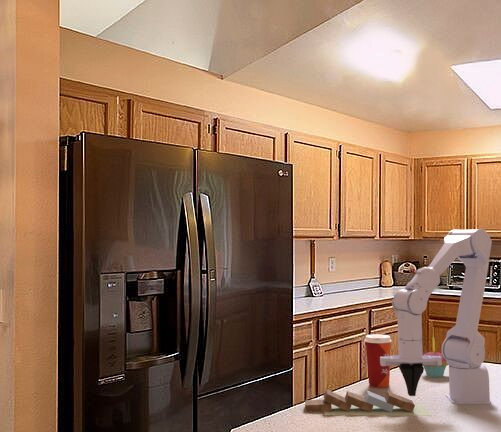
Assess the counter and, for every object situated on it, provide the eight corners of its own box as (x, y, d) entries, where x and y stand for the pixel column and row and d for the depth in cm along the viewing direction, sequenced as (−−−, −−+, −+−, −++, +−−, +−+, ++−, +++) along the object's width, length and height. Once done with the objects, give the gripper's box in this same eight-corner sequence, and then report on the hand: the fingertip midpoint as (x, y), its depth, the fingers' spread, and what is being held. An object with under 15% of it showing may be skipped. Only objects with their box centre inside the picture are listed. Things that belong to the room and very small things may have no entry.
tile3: (371, 400, 151) (347, 390, 152) (373, 405, 147) (348, 395, 147) (369, 407, 151) (344, 397, 152) (371, 412, 147) (345, 402, 147)
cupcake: (418, 372, 188) (417, 333, 189) (447, 372, 187) (446, 333, 187) (422, 379, 180) (421, 338, 180) (452, 379, 179) (451, 338, 179)
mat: (424, 406, 152) (424, 404, 152) (431, 417, 143) (431, 415, 143) (323, 405, 154) (323, 404, 154) (324, 415, 146) (324, 414, 146)
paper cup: (393, 389, 169) (392, 338, 169) (365, 388, 170) (363, 338, 171) (392, 382, 176) (391, 333, 177) (365, 381, 178) (364, 333, 178)
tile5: (330, 398, 152) (305, 400, 153) (331, 403, 148) (304, 405, 148) (331, 406, 152) (305, 407, 153) (332, 411, 148) (305, 412, 148)
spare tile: (391, 400, 151) (366, 390, 151) (394, 405, 146) (368, 395, 147) (388, 407, 151) (364, 397, 151) (391, 412, 146) (366, 402, 147)
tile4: (350, 400, 152) (326, 389, 152) (351, 405, 147) (327, 393, 148) (347, 406, 152) (323, 395, 152) (348, 412, 147) (324, 400, 148)
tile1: (411, 400, 150) (387, 390, 151) (415, 405, 146) (389, 395, 146) (409, 407, 150) (384, 397, 151) (412, 412, 146) (386, 402, 146)
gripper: (435, 335, 152) (437, 390, 152) (377, 336, 153) (378, 391, 152) (443, 340, 145) (445, 398, 145) (382, 341, 146) (384, 398, 145)
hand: (411, 395), depth 148 cm, fingers closed
